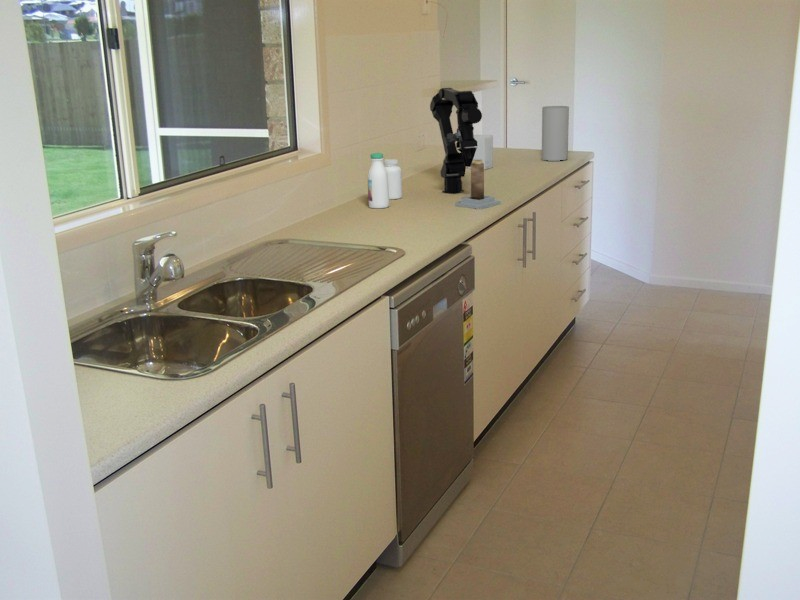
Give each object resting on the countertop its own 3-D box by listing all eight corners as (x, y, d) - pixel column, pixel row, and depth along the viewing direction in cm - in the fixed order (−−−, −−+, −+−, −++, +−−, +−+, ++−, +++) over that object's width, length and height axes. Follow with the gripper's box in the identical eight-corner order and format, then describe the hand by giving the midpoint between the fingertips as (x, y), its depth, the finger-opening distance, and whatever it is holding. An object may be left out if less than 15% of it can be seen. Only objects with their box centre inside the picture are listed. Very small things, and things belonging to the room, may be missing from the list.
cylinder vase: (538, 158, 427) (539, 106, 419) (563, 157, 428) (564, 105, 421) (545, 162, 415) (546, 108, 408) (570, 160, 416) (572, 107, 409)
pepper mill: (469, 202, 322) (469, 161, 318) (472, 199, 327) (472, 159, 322) (482, 203, 321) (482, 162, 316) (485, 200, 325) (485, 159, 321)
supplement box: (493, 167, 407) (493, 134, 402) (485, 170, 400) (484, 137, 395) (476, 166, 411) (476, 134, 407) (467, 169, 404) (467, 136, 400)
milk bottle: (392, 205, 329) (390, 152, 323) (385, 209, 322) (382, 155, 316) (373, 204, 332) (370, 152, 326) (365, 208, 325) (363, 155, 319)
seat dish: (455, 205, 324) (455, 198, 323) (474, 200, 332) (474, 193, 331) (480, 209, 316) (480, 201, 315) (500, 203, 325) (500, 196, 324)
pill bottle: (405, 196, 345) (404, 158, 341) (397, 200, 338) (395, 161, 334) (387, 195, 348) (386, 158, 344) (378, 199, 342) (377, 161, 337)
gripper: (442, 127, 338) (445, 167, 340) (446, 125, 319) (449, 168, 322) (470, 125, 338) (473, 165, 341) (476, 123, 320) (478, 166, 322)
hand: (468, 166), depth 331 cm, fingers open, 9 cm apart
